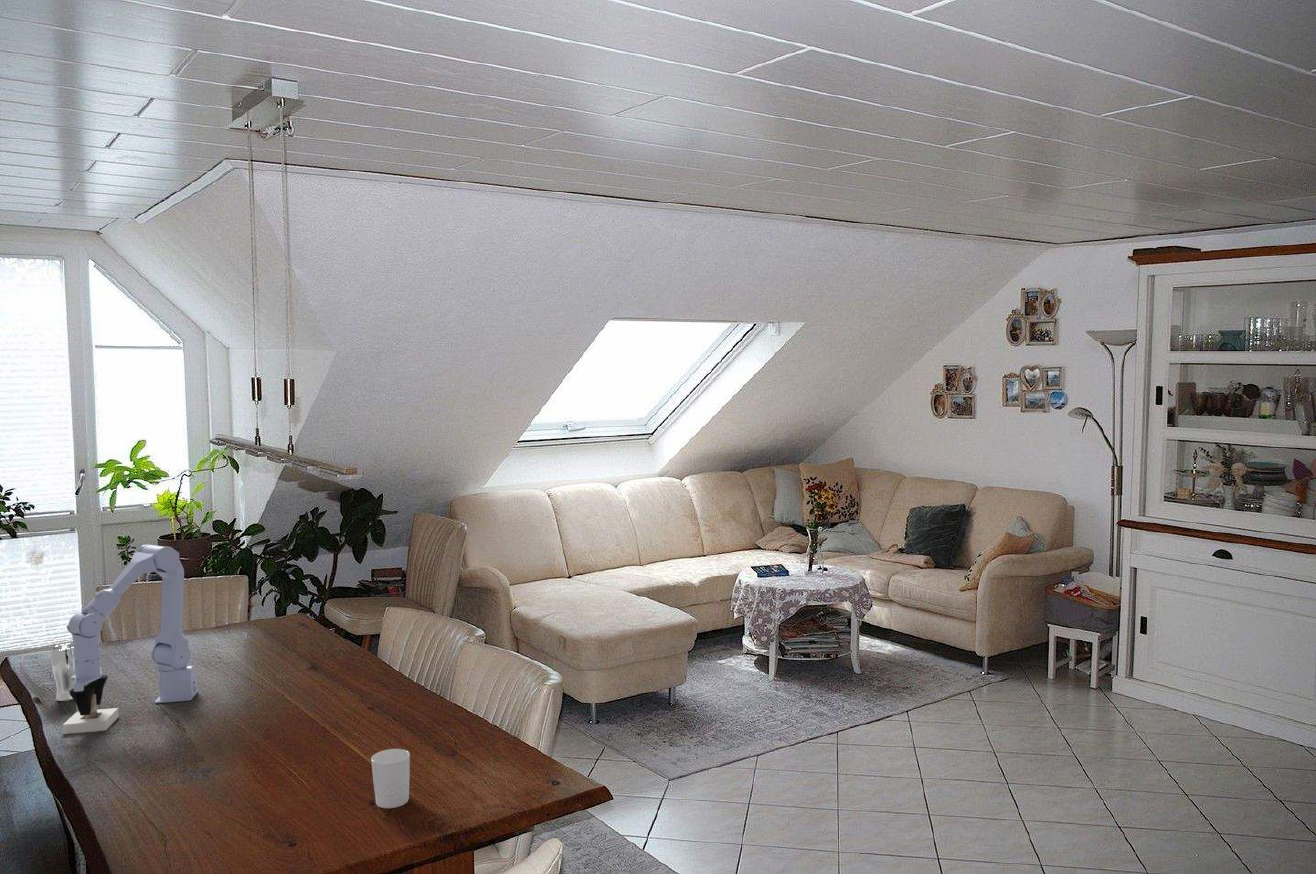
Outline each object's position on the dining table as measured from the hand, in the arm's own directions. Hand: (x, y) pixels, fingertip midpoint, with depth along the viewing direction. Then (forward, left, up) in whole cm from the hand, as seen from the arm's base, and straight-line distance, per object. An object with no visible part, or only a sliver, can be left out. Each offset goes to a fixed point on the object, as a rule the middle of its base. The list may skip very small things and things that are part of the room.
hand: (90, 709), depth 260 cm
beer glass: (+14, -26, -4) cm, 30 cm away
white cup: (-80, +66, -4) cm, 105 cm away
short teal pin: (+4, -8, -4) cm, 10 cm away
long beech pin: (0, 0, -4) cm, 4 cm away
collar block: (0, 0, -4) cm, 4 cm away
